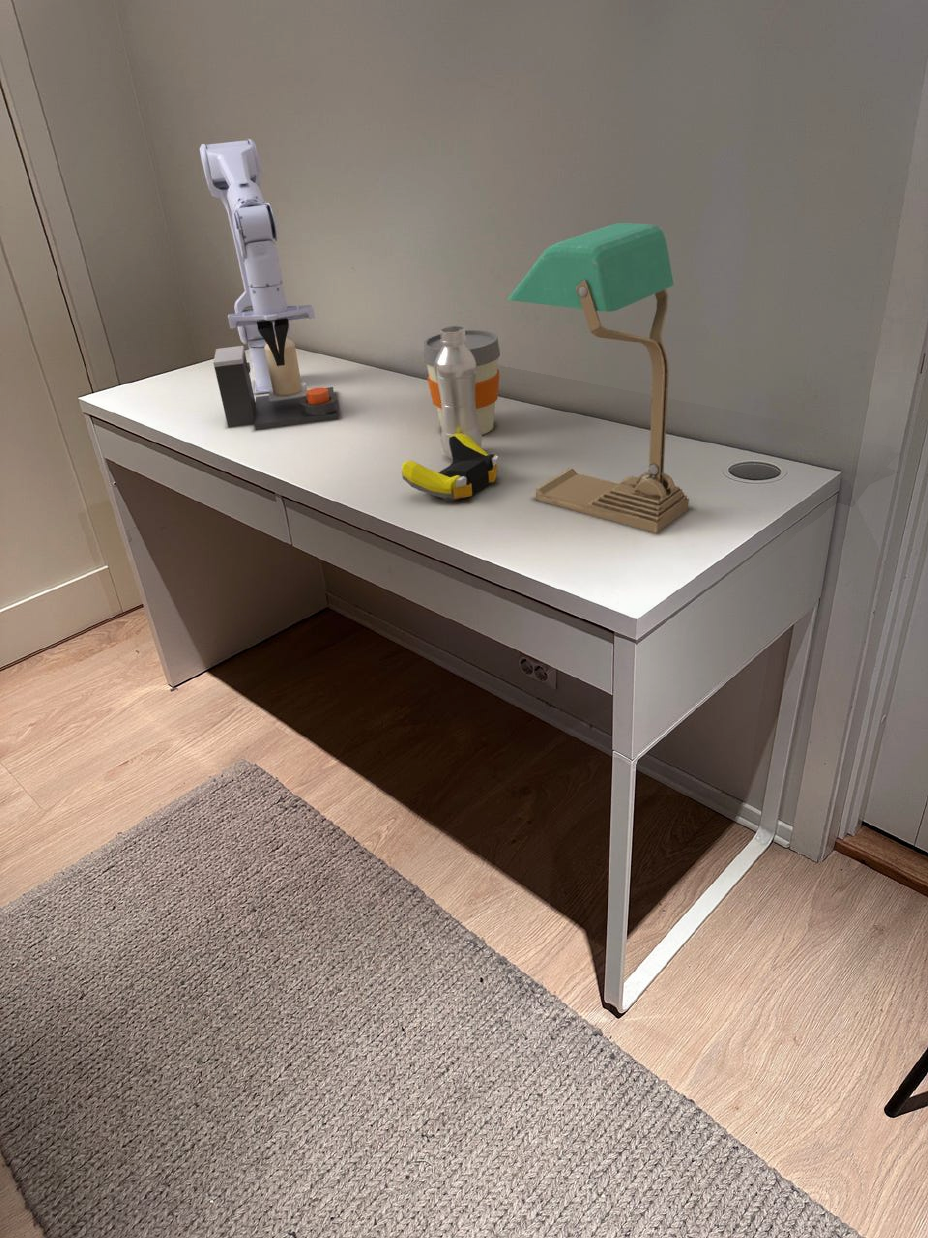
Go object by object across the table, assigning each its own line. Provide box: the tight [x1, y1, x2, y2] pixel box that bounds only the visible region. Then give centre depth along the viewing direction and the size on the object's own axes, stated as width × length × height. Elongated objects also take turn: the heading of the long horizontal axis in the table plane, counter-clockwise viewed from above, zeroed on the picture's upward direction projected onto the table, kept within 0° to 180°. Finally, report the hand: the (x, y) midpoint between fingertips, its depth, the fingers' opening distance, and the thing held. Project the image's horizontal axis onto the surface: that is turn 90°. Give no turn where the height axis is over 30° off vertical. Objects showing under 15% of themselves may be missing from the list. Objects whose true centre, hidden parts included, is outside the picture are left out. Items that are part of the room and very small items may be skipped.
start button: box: [306, 386, 330, 404], centre depth 159 cm, size 4×4×2 cm
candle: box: [264, 336, 303, 396], centre depth 162 cm, size 6×6×10 cm
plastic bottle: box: [434, 325, 483, 459], centre depth 135 cm, size 6×7×20 cm
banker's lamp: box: [507, 222, 690, 534], centre depth 112 cm, size 16×21×35 cm
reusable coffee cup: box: [423, 329, 501, 436], centre depth 146 cm, size 13×13×15 cm
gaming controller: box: [401, 433, 499, 502], centre depth 129 cm, size 15×6×10 cm
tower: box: [212, 345, 308, 428], centre depth 162 cm, size 10×15×12 cm
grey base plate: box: [253, 386, 340, 431], centre depth 164 cm, size 16×15×3 cm
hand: (280, 364), depth 155 cm, fingers closed
